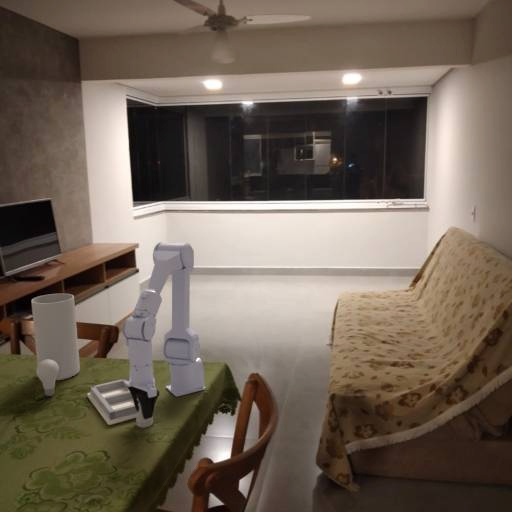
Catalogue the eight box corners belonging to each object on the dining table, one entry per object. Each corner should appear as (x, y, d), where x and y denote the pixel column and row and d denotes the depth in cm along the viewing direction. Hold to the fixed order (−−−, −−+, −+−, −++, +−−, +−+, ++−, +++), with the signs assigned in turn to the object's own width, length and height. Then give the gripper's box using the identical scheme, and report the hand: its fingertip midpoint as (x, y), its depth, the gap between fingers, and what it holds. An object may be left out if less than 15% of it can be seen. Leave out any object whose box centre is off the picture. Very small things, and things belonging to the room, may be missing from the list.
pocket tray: (128, 386, 159) (127, 377, 159) (153, 412, 142) (152, 402, 141) (87, 396, 153) (86, 386, 152) (108, 425, 136) (107, 414, 135)
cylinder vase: (72, 381, 164) (65, 303, 160) (32, 382, 164) (24, 303, 160) (85, 366, 176) (79, 293, 172) (48, 366, 177) (41, 293, 172)
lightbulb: (53, 401, 150) (50, 364, 148) (34, 399, 152) (30, 363, 150) (65, 392, 156) (62, 356, 154) (46, 391, 157) (43, 355, 156)
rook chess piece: (137, 420, 138) (135, 391, 137) (154, 419, 138) (152, 390, 137) (134, 428, 133) (132, 399, 132) (152, 427, 134) (151, 398, 132)
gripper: (116, 357, 137) (120, 407, 139) (135, 376, 125) (138, 429, 127) (142, 352, 141) (145, 400, 143) (163, 369, 129) (166, 421, 131)
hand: (144, 413), depth 135 cm, fingers open, 5 cm apart
